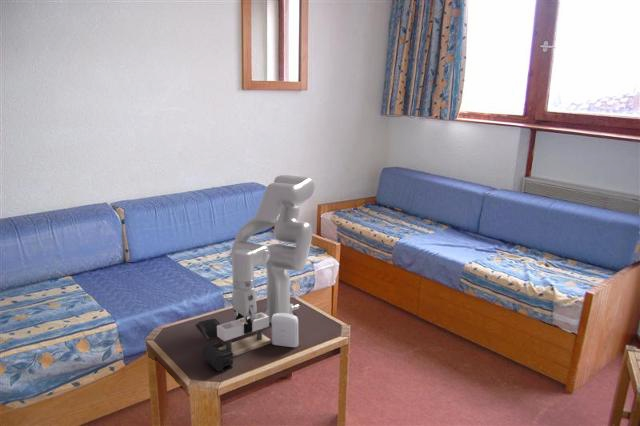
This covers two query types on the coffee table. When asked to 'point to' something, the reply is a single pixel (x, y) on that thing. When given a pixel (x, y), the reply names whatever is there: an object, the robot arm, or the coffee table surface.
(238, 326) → the white long block
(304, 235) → the robot arm
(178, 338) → the coffee table surface
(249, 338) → the board
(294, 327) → the photo printer
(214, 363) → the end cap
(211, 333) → the phone
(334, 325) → the coffee table surface
